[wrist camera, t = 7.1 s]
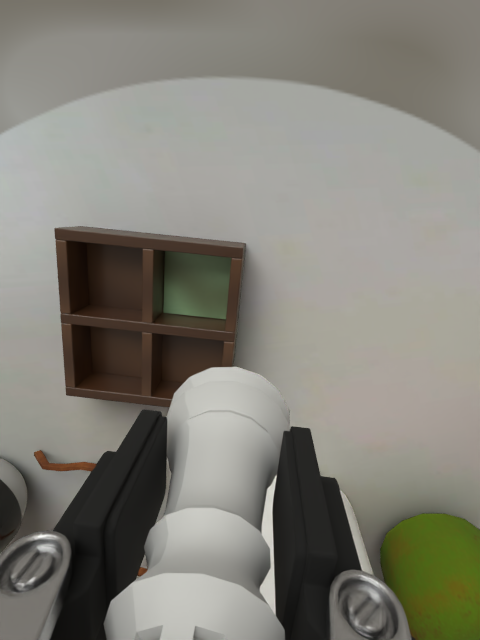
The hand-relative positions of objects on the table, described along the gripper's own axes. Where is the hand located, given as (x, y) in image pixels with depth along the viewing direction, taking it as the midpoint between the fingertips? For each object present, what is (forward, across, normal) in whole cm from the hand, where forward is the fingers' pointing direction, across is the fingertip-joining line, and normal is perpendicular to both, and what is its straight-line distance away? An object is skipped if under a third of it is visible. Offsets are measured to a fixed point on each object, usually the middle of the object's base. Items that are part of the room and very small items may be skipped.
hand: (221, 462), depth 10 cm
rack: (+19, +7, +2) cm, 20 cm away
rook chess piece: (+3, 0, 0) cm, 3 cm away
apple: (+19, -20, +23) cm, 36 cm away
